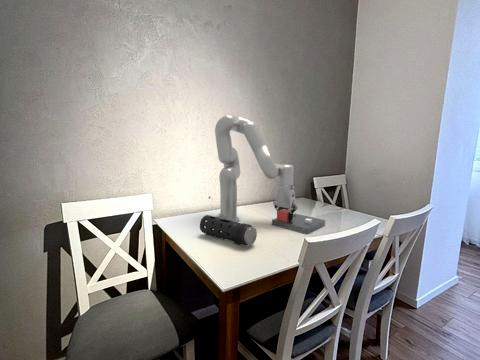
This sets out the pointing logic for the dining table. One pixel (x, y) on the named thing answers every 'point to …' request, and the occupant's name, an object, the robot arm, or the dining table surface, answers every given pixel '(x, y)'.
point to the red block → (283, 215)
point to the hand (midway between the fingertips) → (284, 218)
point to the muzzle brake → (228, 230)
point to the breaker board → (300, 224)
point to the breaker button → (308, 220)
